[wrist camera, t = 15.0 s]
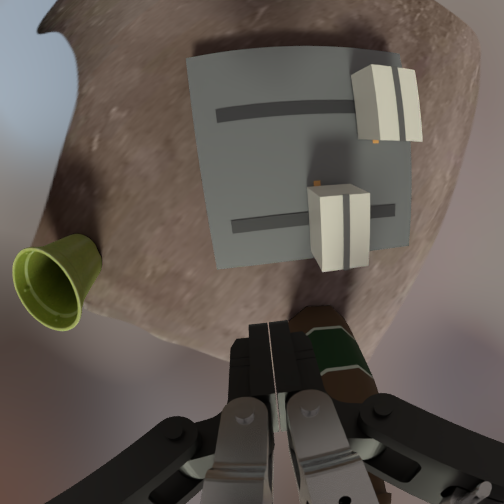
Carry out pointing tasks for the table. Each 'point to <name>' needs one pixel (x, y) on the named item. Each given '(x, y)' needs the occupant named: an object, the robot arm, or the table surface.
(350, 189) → the block
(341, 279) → the table surface
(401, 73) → the block
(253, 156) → the fader board
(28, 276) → the plant pot
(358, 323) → the table surface
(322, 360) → the beer bottle
